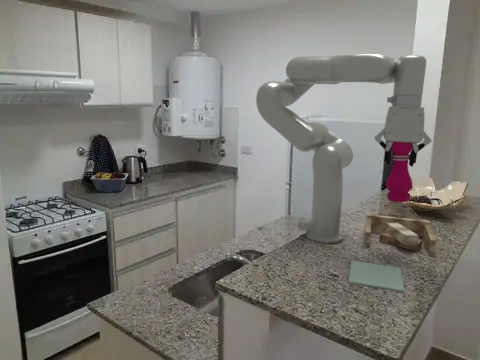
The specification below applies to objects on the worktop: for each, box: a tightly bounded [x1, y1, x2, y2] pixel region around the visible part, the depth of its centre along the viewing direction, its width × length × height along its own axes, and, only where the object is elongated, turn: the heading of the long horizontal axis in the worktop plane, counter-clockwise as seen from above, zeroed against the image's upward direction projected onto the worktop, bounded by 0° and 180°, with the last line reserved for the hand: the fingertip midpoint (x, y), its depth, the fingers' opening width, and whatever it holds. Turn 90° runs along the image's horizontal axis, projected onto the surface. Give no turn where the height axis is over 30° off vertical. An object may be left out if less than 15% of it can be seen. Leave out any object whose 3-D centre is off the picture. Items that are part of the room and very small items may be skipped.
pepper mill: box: [385, 142, 413, 203], centre depth 108 cm, size 7×7×20 cm
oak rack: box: [364, 213, 437, 257], centre depth 121 cm, size 20×16×6 cm
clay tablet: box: [378, 202, 419, 220], centre depth 147 cm, size 14×5×20 cm
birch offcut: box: [385, 222, 419, 245], centre depth 118 cm, size 12×4×3 cm, turn 8°
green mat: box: [348, 260, 405, 293], centre depth 98 cm, size 13×13×1 cm
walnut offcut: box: [379, 231, 423, 252], centre depth 119 cm, size 12×4×3 cm, turn 51°
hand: (399, 164), depth 108 cm, fingers closed on pepper mill, 5 cm apart
